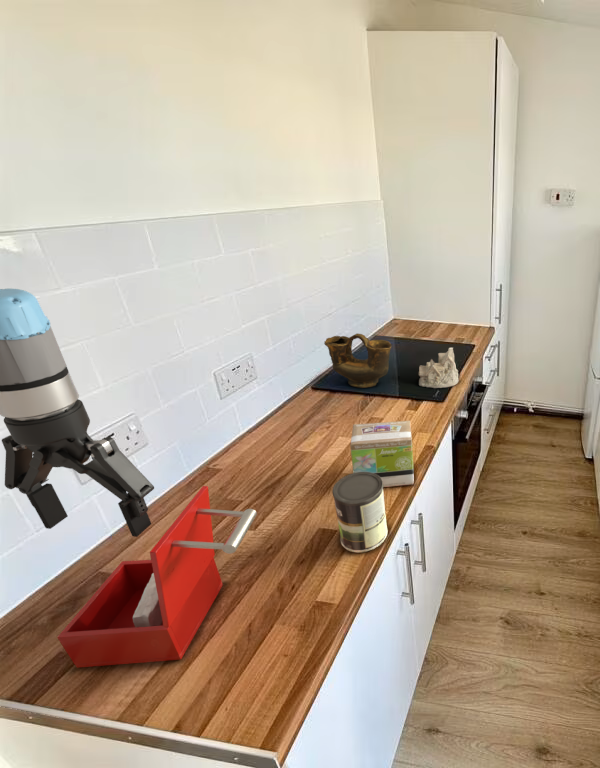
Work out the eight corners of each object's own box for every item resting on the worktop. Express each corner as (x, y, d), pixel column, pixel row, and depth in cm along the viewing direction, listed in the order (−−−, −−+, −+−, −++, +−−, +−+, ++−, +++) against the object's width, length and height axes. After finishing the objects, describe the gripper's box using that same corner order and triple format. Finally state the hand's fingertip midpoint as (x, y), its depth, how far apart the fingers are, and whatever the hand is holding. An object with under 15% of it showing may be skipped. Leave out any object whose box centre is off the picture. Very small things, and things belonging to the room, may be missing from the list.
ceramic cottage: (460, 371, 181) (458, 337, 174) (456, 390, 166) (453, 354, 159) (423, 371, 181) (419, 338, 174) (416, 390, 166) (411, 355, 159)
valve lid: (149, 552, 61) (225, 556, 63) (203, 485, 74) (264, 490, 76) (163, 627, 68) (231, 629, 70) (210, 554, 81) (266, 557, 83)
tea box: (355, 492, 111) (348, 444, 104) (357, 468, 119) (351, 423, 113) (414, 485, 114) (412, 438, 108) (413, 462, 123) (410, 418, 117)
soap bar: (176, 614, 74) (131, 625, 70) (175, 636, 76) (132, 647, 73) (177, 565, 80) (136, 573, 77) (176, 586, 83) (136, 595, 79)
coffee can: (341, 558, 92) (332, 507, 86) (340, 524, 101) (332, 476, 94) (390, 546, 95) (385, 497, 89) (385, 515, 104) (380, 467, 98)
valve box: (76, 668, 70) (56, 637, 66) (136, 590, 83) (122, 561, 79) (181, 659, 72) (167, 629, 68) (223, 584, 85) (213, 556, 81)
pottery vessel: (324, 385, 163) (317, 336, 154) (337, 374, 173) (331, 326, 164) (389, 391, 162) (385, 341, 153) (398, 379, 171) (395, 331, 163)
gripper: (156, 401, 61) (195, 516, 70) (-15, 387, 61) (46, 502, 71) (108, 430, 54) (158, 552, 63) (-84, 413, 55) (-6, 537, 64)
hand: (99, 526), depth 67 cm, fingers open, 13 cm apart
